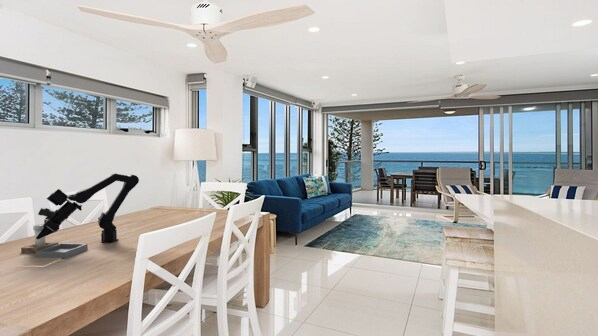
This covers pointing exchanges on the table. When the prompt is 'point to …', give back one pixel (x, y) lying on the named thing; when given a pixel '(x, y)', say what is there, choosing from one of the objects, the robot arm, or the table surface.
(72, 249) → the parts tray
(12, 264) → the table surface
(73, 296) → the table surface
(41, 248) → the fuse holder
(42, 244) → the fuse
